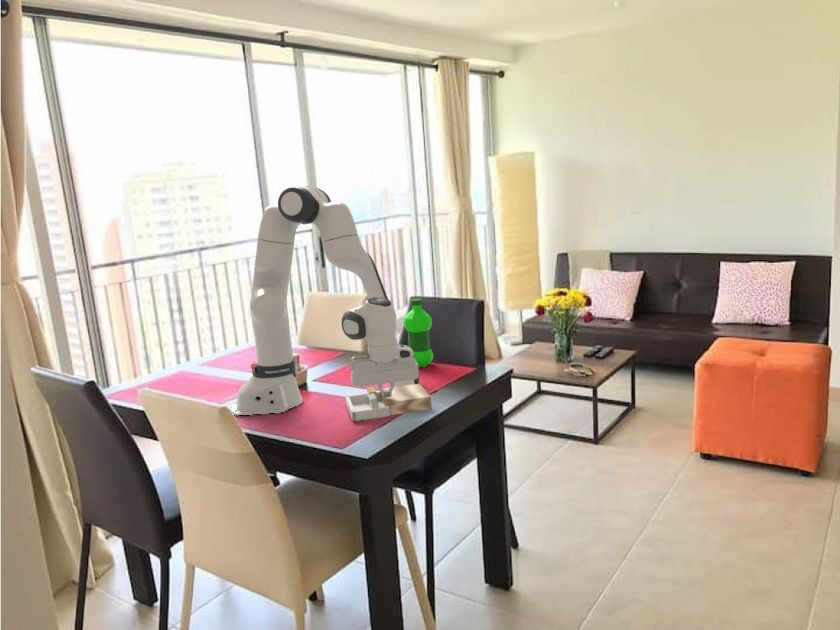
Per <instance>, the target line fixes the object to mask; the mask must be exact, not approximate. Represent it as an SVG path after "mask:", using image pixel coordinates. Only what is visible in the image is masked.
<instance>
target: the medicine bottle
mask: <svg viewBox="0 0 840 630" xmlns="http://www.w3.org/2000/svg"><path fill="white" fill-rule="evenodd" d="M413 357H414V355H413ZM417 365H418V363H417ZM418 371H419V372H420V368H418ZM412 384H420V375H419V376H418V378H417V379H414V380H407V381H399V382H395V386H394V387H398V386H405V385H412Z"/></svg>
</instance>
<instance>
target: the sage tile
mask: <svg viewBox="0 0 840 630" xmlns="http://www.w3.org/2000/svg"><path fill="white" fill-rule="evenodd" d="M368 399H369V404H370V408H378V407H379V406H378V402H377V398H376V396H375V394H374V393H372V394H369V395H368Z"/></svg>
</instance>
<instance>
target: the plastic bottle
mask: <svg viewBox="0 0 840 630" xmlns="http://www.w3.org/2000/svg"><path fill="white" fill-rule="evenodd" d="M409 301H410V306H411V307H412V308H411V310H409V311H408V312H407V313H406V315H405V316H404V317H403V322H402V323H403V326H404V329H405V330H406V331H407V338H408V346H409V347H410V348H411V349H412V350H413V352H414V358H415V360H416V361H417V363H418V367H423V368H425V367H424V366H426V367H428V366H427V365H429V364H430V363H432V361H433V359H434V353H433V352H434V351H433V350H432V349H431V339H430V338H431V337H430V329H431V328H432V327H433V319H432V316H431V315H430V314H429V313H427V311H425V310H424V309H423V308H422V305H423V299H422V298H412V299H410V300H409Z"/></svg>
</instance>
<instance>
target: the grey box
mask: <svg viewBox="0 0 840 630" xmlns="http://www.w3.org/2000/svg"><path fill="white" fill-rule="evenodd" d="M376 395H377V402H378V406H379V407H378V408H370V405H369V403H368V393H367V392H363V393H357V394H348V395H345V396H344V397H345V398H344V399H345V406H346V409H347V410H348V414H349V416H350V415H351V416H350V418H351V421H352V420H353V421H357V422H361V421H360V420H364V421H370V420H369V419H371V420H376V419H383V418H389V417H391V415H390V412H389V406H384V404H383V403H382V401H381V395H380V390H376ZM353 421H352V422H353Z"/></svg>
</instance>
